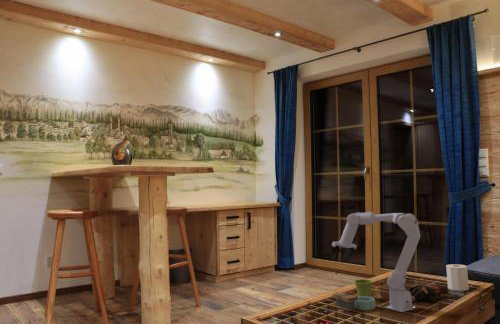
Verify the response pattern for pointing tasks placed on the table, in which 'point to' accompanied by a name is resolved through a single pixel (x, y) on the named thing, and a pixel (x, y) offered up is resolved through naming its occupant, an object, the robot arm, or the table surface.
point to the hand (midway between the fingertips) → (338, 260)
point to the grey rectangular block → (346, 305)
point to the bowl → (365, 303)
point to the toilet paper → (457, 277)
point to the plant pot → (363, 287)
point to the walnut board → (345, 297)
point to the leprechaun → (427, 292)
